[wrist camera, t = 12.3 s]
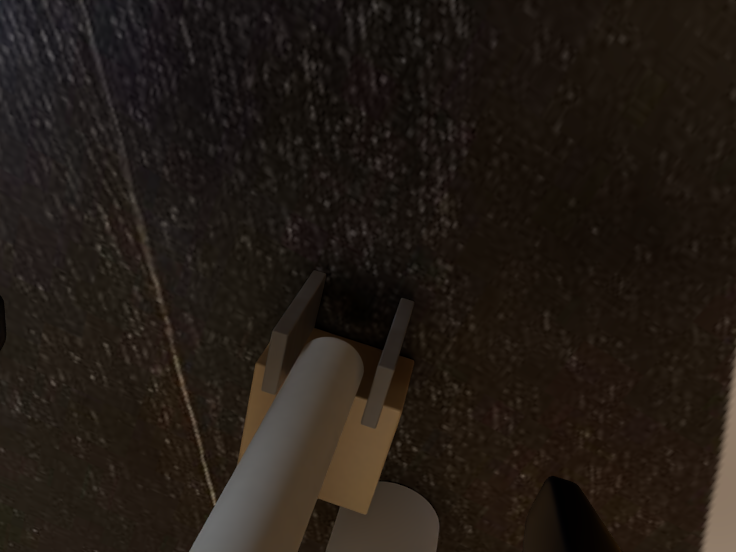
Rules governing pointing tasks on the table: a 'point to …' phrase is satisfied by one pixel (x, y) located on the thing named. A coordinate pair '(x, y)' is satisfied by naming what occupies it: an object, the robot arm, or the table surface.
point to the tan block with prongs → (370, 406)
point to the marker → (287, 455)
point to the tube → (387, 524)
